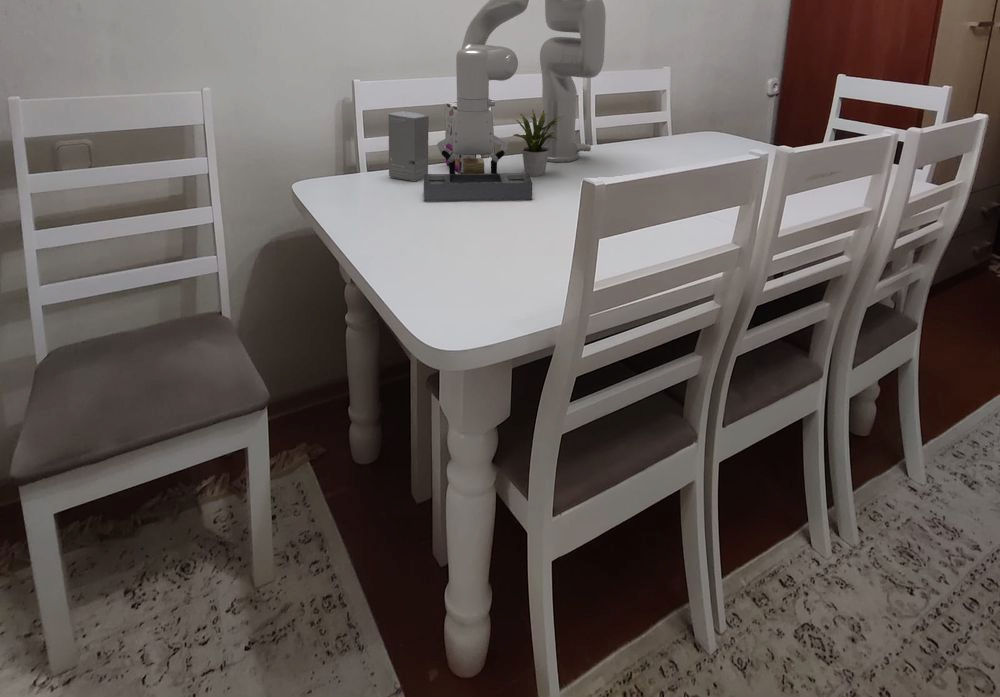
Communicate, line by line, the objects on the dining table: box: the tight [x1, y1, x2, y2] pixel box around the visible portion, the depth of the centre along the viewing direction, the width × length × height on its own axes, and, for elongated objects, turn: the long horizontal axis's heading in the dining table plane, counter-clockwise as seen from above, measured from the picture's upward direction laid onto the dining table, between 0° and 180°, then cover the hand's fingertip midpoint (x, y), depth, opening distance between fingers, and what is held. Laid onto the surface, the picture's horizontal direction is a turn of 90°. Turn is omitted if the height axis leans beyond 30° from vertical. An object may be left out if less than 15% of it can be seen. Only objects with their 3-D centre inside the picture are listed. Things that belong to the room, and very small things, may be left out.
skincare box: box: [388, 110, 430, 182], centre depth 179 cm, size 8×7×16 cm
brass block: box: [462, 157, 485, 174], centre depth 175 cm, size 5×5×6 cm
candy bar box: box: [444, 101, 477, 174], centre depth 187 cm, size 11×5×16 cm, turn 25°
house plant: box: [512, 108, 564, 177], centre depth 182 cm, size 14×14×16 cm
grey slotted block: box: [423, 172, 533, 202], centre depth 167 cm, size 25×9×4 cm, turn 94°
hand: (473, 177), depth 175 cm, fingers open, 9 cm apart
